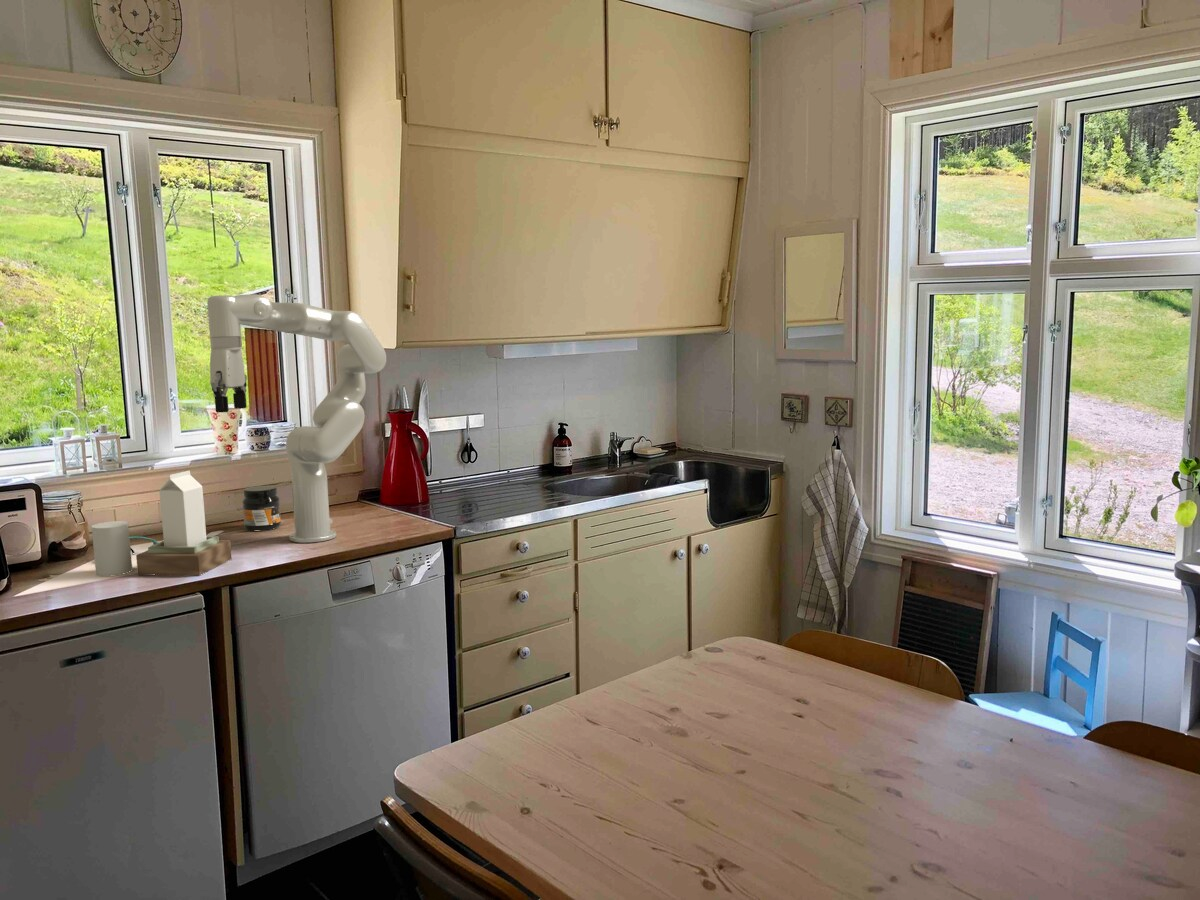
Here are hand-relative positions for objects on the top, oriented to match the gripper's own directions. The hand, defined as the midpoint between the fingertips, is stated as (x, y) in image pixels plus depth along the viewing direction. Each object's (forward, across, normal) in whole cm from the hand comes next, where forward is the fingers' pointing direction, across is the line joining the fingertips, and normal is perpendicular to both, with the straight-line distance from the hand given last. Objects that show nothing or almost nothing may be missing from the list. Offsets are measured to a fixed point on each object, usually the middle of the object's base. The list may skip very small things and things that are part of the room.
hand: (231, 410), depth 253 cm
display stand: (+38, +14, -8) cm, 41 cm away
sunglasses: (+39, +7, -26) cm, 47 cm away
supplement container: (+39, -31, -9) cm, 50 cm away
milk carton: (+33, +14, -8) cm, 37 cm away
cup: (+38, +19, -24) cm, 49 cm away
